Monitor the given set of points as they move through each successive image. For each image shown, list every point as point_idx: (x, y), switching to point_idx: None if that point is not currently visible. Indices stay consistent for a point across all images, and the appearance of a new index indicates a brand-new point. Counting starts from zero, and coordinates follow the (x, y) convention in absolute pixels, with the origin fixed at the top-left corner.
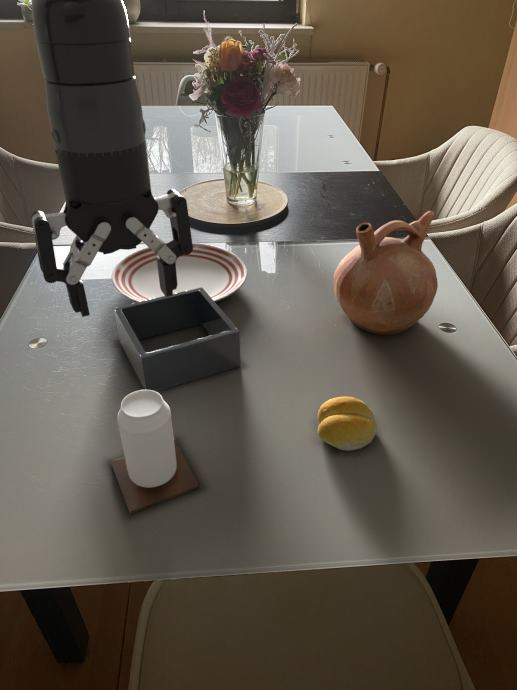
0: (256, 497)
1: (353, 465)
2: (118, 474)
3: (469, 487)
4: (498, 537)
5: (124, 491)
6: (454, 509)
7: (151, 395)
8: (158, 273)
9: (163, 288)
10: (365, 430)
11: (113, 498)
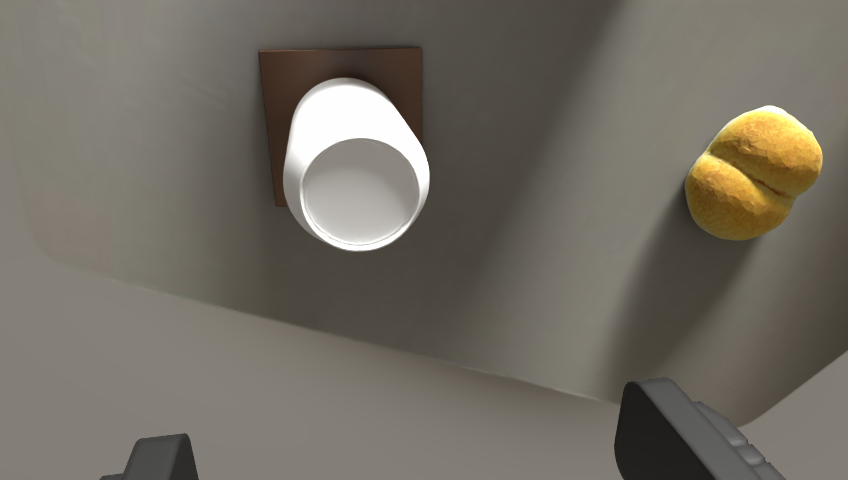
0: (504, 252)
1: (685, 252)
2: (270, 100)
3: (786, 347)
4: (741, 417)
5: (275, 153)
6: (736, 369)
7: (395, 165)
8: (685, 442)
9: (636, 453)
10: (761, 234)
11: (250, 151)
